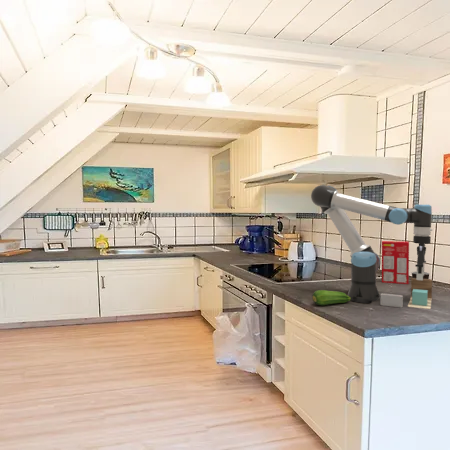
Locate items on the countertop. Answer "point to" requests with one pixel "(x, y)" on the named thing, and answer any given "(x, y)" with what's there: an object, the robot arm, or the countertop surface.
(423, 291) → the teal block
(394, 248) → the food packaging
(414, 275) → the coffee mug
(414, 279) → the wooden l-shaped stand
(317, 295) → the vegetable
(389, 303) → the gray rectangular block
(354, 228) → the robot arm
